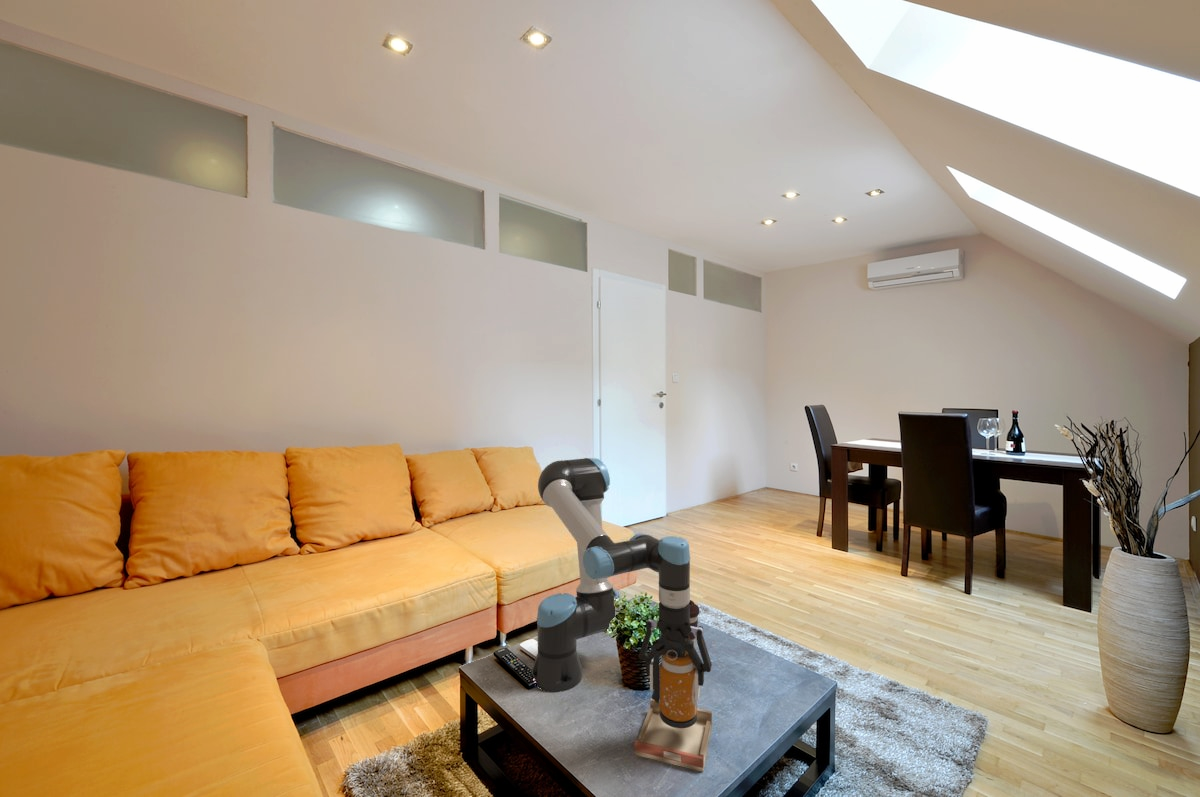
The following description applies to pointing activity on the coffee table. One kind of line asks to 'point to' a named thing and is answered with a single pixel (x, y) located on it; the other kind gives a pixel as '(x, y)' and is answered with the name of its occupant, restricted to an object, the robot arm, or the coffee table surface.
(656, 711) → the wooden serving tray
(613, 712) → the coffee table surface
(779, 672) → the coffee table surface
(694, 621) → the coffee cup
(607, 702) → the coffee table surface
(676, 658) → the canister
